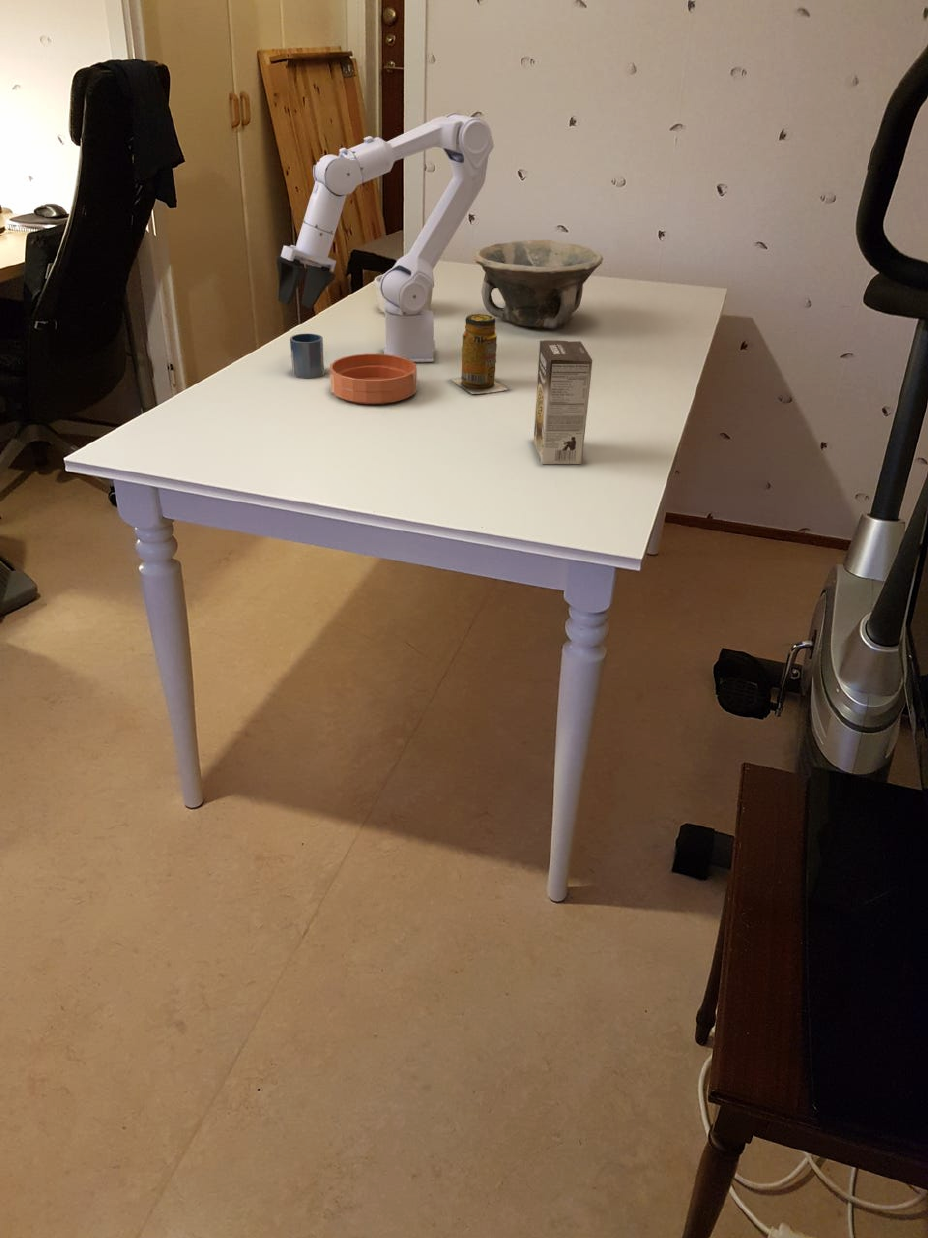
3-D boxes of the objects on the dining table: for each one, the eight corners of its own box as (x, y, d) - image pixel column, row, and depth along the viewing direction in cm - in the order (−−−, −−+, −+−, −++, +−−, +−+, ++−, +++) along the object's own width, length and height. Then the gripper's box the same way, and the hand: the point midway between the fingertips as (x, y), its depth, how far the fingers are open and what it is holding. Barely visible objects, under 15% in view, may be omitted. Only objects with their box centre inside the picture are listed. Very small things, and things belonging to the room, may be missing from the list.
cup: (325, 368, 176) (323, 333, 173) (323, 378, 171) (321, 342, 168) (293, 368, 176) (291, 333, 172) (291, 378, 171) (288, 342, 167)
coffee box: (531, 441, 149) (538, 339, 140) (571, 441, 149) (581, 339, 140) (540, 465, 141) (548, 358, 132) (582, 464, 141) (593, 358, 133)
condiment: (486, 376, 175) (489, 310, 168) (508, 390, 168) (511, 322, 162) (451, 380, 172) (452, 314, 165) (471, 395, 166) (473, 327, 159)
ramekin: (432, 320, 205) (432, 287, 202) (372, 318, 205) (371, 285, 202) (435, 304, 216) (435, 273, 213) (378, 302, 217) (377, 271, 213)
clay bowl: (414, 377, 173) (414, 353, 170) (418, 406, 160) (418, 380, 158) (332, 377, 172) (331, 353, 169) (329, 406, 159) (328, 380, 157)
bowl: (453, 330, 199) (455, 256, 191) (497, 301, 220) (500, 233, 212) (575, 347, 191) (582, 271, 183) (608, 316, 212) (616, 246, 204)
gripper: (321, 227, 171) (299, 300, 176) (277, 212, 158) (254, 291, 163) (353, 240, 169) (330, 314, 174) (311, 227, 156) (286, 307, 161)
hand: (295, 304), depth 168 cm, fingers open, 7 cm apart
